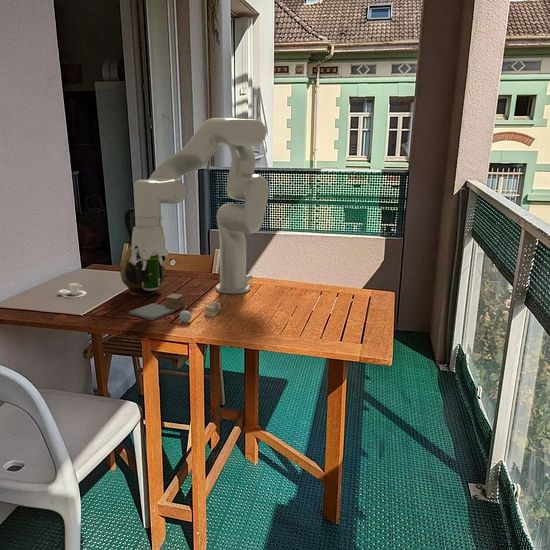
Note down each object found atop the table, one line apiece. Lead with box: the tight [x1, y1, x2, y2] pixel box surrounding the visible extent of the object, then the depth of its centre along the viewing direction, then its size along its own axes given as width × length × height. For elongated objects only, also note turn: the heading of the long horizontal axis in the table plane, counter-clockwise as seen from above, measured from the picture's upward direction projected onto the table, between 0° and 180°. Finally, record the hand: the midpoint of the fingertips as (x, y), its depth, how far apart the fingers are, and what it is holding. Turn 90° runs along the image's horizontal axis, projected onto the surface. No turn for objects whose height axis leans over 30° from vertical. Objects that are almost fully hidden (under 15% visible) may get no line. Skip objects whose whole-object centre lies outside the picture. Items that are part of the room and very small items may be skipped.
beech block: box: [204, 301, 221, 317], centre depth 155 cm, size 5×3×3 cm, turn 162°
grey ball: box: [178, 310, 192, 323], centre depth 147 cm, size 4×4×4 cm
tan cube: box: [165, 293, 185, 311], centre depth 160 cm, size 4×4×4 cm
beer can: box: [141, 251, 161, 291], centre depth 151 cm, size 5×5×12 cm
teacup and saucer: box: [57, 282, 87, 299], centre depth 170 cm, size 9×8×4 cm
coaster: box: [128, 302, 176, 321], centre depth 154 cm, size 10×10×1 cm
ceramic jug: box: [119, 206, 166, 297], centre depth 171 cm, size 17×15×30 cm
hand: (150, 279), depth 151 cm, fingers closed on beer can, 5 cm apart
